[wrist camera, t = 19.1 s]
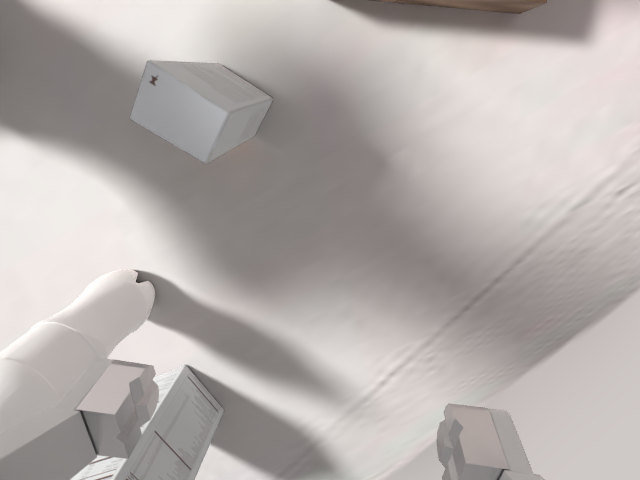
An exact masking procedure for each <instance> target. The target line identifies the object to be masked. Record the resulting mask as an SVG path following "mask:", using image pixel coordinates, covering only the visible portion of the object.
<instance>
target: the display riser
mask: <svg viewBox="0 0 640 480" xmlns="http://www.w3.org/2000/svg"><path fill="white" fill-rule="evenodd" d="M372 1H384V2H395V3H406V4H417V5H429V6H440V7H451V8H463V9H474V10H485V11H497V12H508V13H519V14H520V13H522V12H525V11H527V10H530V9H532V8H535V7H537V6H539V5H542V4H544V3H546V2H547V0H372Z"/></svg>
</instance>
